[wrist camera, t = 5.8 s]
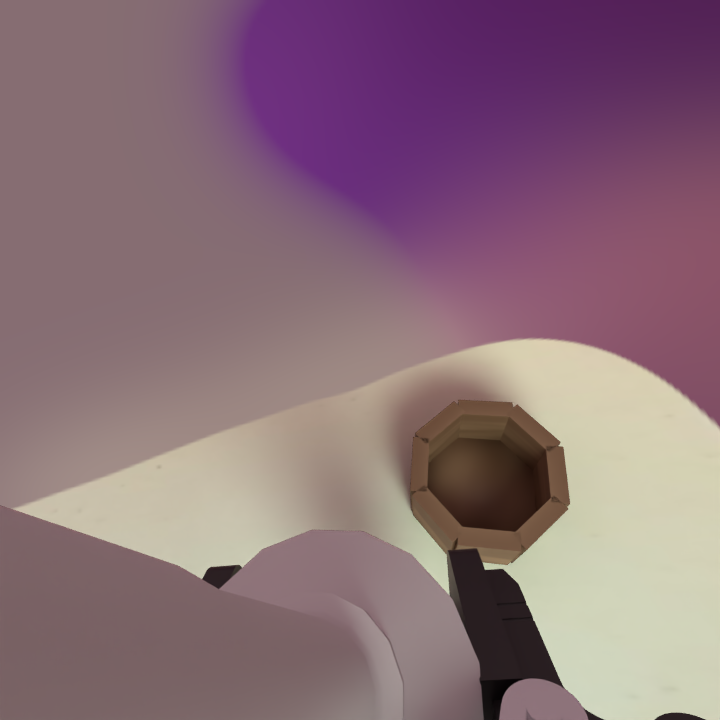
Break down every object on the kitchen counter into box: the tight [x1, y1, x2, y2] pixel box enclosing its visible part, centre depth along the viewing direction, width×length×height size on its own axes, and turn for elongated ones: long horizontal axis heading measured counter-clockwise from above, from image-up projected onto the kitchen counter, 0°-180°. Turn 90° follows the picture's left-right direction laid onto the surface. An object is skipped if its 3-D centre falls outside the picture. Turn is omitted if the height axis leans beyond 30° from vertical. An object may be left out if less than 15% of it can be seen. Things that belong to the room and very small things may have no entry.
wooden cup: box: [410, 400, 570, 565], centre depth 29 cm, size 9×9×5 cm
